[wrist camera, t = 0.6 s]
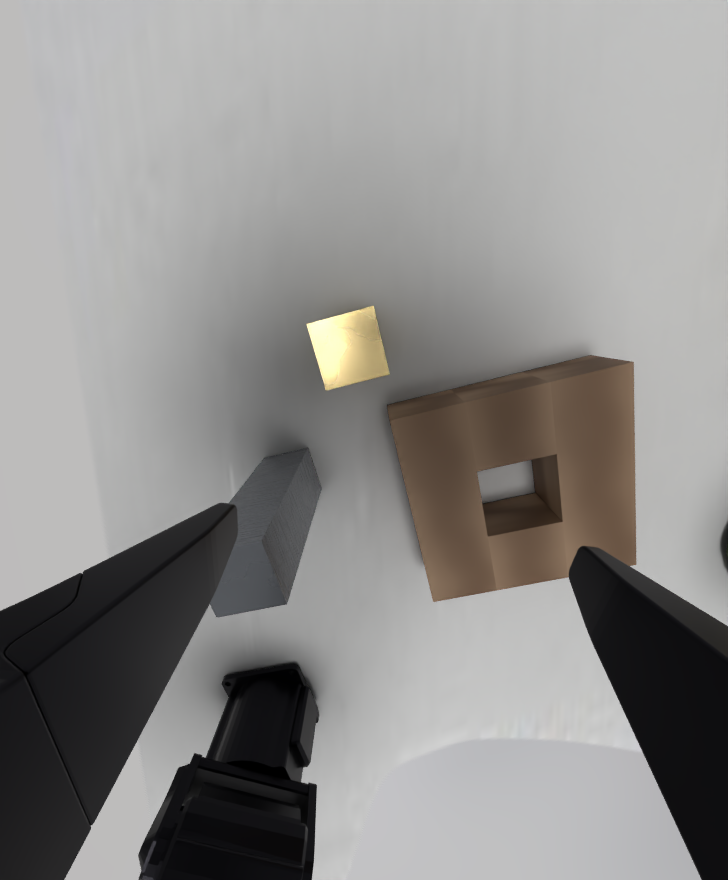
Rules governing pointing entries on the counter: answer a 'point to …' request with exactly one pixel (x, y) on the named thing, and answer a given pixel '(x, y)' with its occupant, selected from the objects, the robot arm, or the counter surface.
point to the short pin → (348, 348)
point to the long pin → (269, 534)
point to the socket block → (511, 441)
